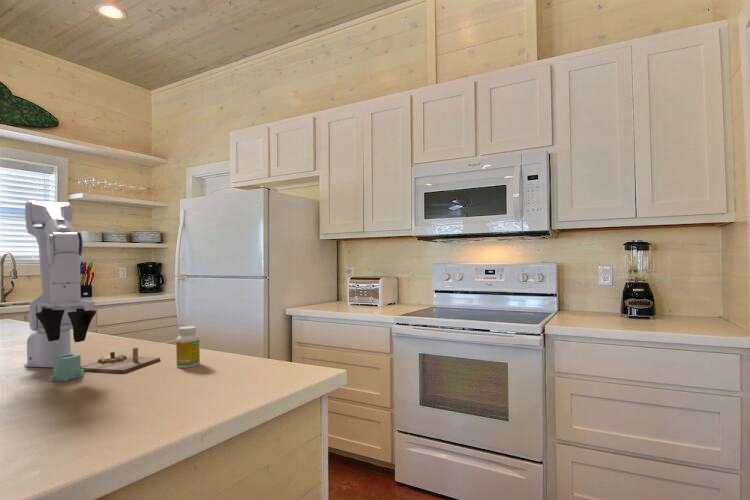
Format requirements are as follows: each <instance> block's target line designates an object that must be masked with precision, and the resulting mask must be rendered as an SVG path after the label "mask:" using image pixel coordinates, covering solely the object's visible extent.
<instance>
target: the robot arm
mask: <svg viewBox="0 0 750 500" xmlns="http://www.w3.org/2000/svg"><path fill="white" fill-rule="evenodd" d="M24 207H25V211H24V215H25V227H26V230H27V234H29V235H31V236H34V237H35V239H36V242H37V244H38V256H39V270H40V283H41V285H40V286H41V294H40V295H38V296H37V297H36V298H35V297H34V298H33V299H32V300H31V301H30V303H29V312H28V320H29V321H28V323H29V325H28V326H29V329H30V330H32V331H33V332H31V333H30V334H29V336H28V337H27V340H26V363H24V364H23V366H24V367H32V368H33V367H35V368H53V358H54V357H56V356H60V355H65V354H72V348H71V347H72V344H71V343H72V339H71V338H72V337H71V330H72V335H73V340H74V343H80V342H84V341H85V340H86V337H87V334H88V330H89V328H90V327H89V326H90V324H91V322H92V320H93V318H95V316H96V314H97V310H96V305H95V304H96V302H95V301H91V300H90V301H89V300H81V299H82V298H81V297H82V296H81V295H82V293H81V292H82V291H81V257H82V254H83V250H84V240H83V234H82V233H81V231H75V229H74V227H73V224H72V221H73V207H72V204H70V202H68V201H67V202H59V201H58V202H57V201H54V202H53V201H39V200H37V201H36V200H31V199H29V200H27V201H26V202H25V206H24Z"/></svg>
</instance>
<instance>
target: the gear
mask: <svg viewBox="0 0 750 500" xmlns="http://www.w3.org/2000/svg"><path fill="white" fill-rule="evenodd" d="M81 363H82V362H81V354H80V353H71V354H65V355H60V356H56V357H54V358H53V367H52V370H53V372H52V373H50V376H49V382H50V383H51V382H52V383H53V382H56V381H58V382H60V381H61V382H68V381H69V380H73V379H77V378H78V379H80V378H83V377H84V374H85V371H84V370H83V369H81V366H82V365H81Z"/></svg>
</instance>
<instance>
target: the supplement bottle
mask: <svg viewBox="0 0 750 500" xmlns="http://www.w3.org/2000/svg"><path fill="white" fill-rule="evenodd" d="M196 333H197V326H195V325H187V326H180V327H179V328H178V334H179V336H177V337H176V339H175V341H176V343H175V345H176V346H175V348H176V349H175V350H176V352H175V353H176V367H177V368H179V369H186V368H193V367H197V366H199V365H200V360H201V358H200V355H201V354H200V353H201V352H200V350H201V349H200V336H199V335H198V334H196Z"/></svg>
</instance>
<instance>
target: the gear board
mask: <svg viewBox="0 0 750 500" xmlns="http://www.w3.org/2000/svg"><path fill="white" fill-rule="evenodd" d="M160 361H161V357H155V356H154V357H153V356H151V357H149V356H139V347H132V356H127V355H126V354H116V352H115V351H110V353H109V356H101V358H97V361H96V362H91V363H87V364H85V365H81V369H83V370H84V372H89V373H106V374H107V373H110V374H111V373H112V374H126V373H130V372H132V371H134V370H137V369H140V368H143V367H145V366H150V365H151V364H154V363H157V362H160Z"/></svg>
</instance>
